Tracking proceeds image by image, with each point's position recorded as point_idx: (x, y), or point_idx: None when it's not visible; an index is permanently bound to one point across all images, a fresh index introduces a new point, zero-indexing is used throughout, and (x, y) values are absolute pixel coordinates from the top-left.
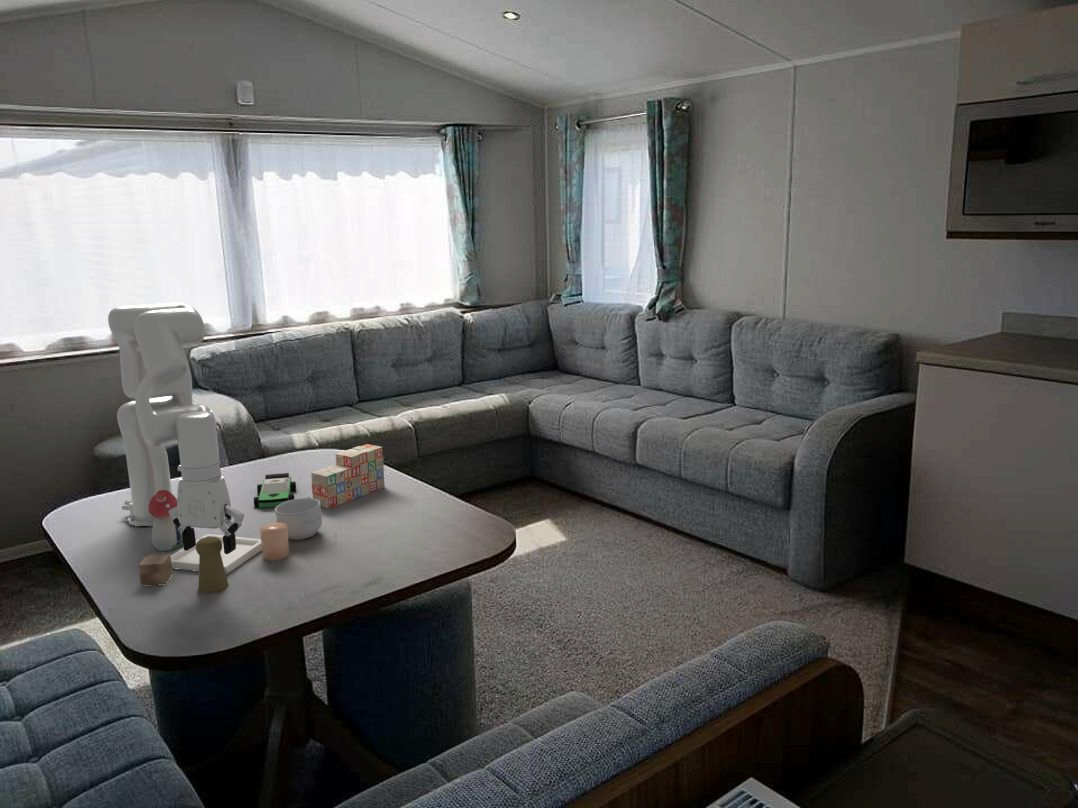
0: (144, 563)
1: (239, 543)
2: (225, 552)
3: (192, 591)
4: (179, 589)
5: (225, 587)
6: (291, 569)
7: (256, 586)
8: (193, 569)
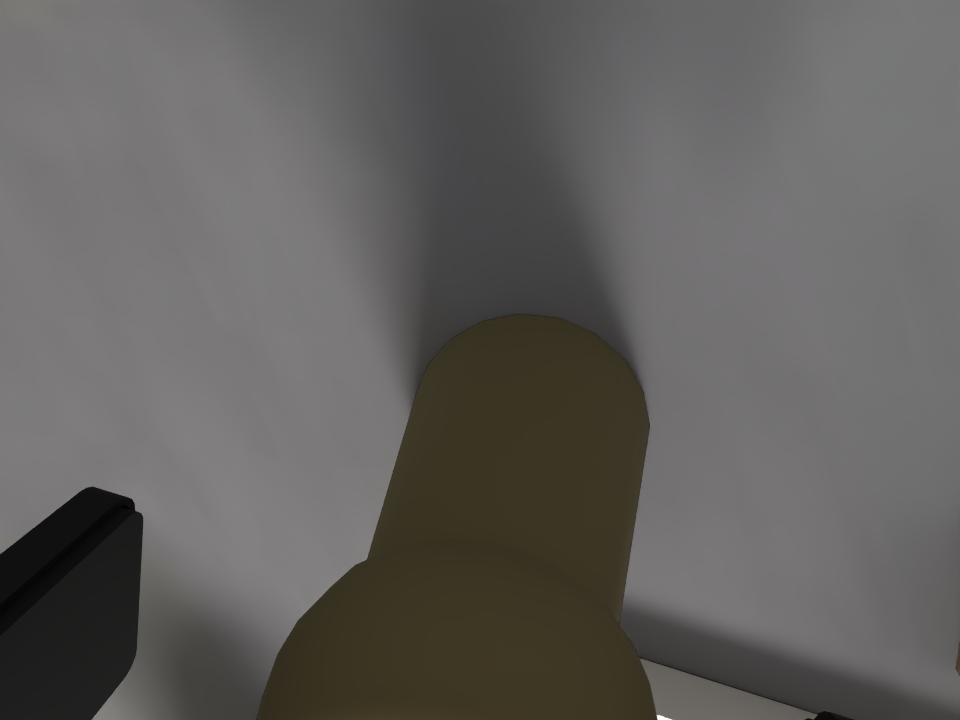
0: None
1: None
2: (99, 504)
3: (684, 362)
4: (819, 409)
5: (415, 396)
6: None
7: (200, 410)
8: (793, 717)
